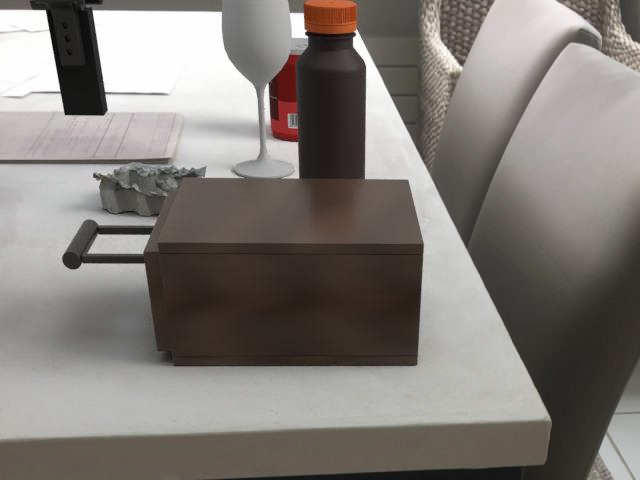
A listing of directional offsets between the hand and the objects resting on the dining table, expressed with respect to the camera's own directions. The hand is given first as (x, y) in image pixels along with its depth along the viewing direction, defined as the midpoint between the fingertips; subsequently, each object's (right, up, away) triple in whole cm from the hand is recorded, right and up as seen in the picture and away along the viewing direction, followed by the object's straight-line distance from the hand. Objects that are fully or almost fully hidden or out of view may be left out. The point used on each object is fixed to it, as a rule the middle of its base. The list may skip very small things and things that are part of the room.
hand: (86, 112), depth 63 cm
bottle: (+16, +2, +31) cm, 35 cm away
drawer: (+9, -12, +10) cm, 18 cm away
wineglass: (+7, +13, +44) cm, 46 cm away
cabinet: (+14, -13, +11) cm, 22 cm away
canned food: (+10, +22, +57) cm, 62 cm away
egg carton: (-3, +5, +33) cm, 33 cm away
